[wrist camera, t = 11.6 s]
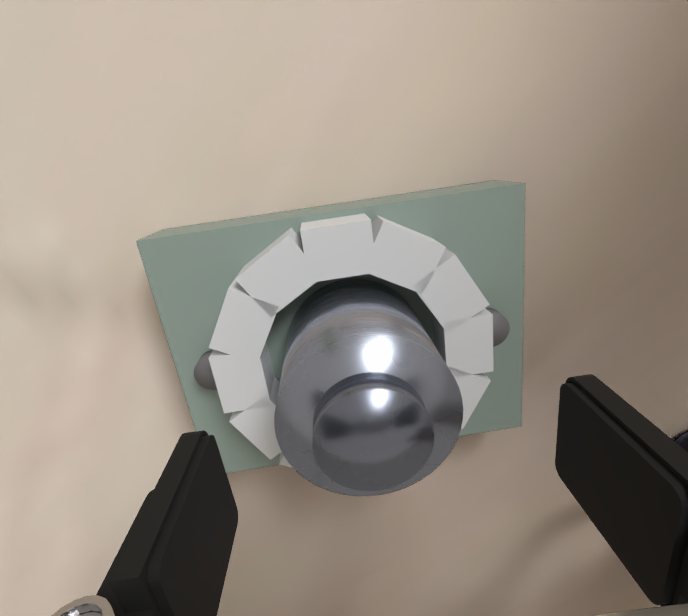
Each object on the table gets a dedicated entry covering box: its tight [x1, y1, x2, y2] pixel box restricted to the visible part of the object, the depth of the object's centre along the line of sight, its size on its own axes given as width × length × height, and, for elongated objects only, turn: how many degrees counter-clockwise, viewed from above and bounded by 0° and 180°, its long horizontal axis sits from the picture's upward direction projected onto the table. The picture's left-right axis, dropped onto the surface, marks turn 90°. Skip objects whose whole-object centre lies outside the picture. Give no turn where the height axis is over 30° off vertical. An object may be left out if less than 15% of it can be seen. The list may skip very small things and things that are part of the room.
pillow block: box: [136, 180, 525, 473], centre depth 19 cm, size 16×12×5 cm
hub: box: [274, 279, 463, 496], centre depth 15 cm, size 6×6×7 cm
